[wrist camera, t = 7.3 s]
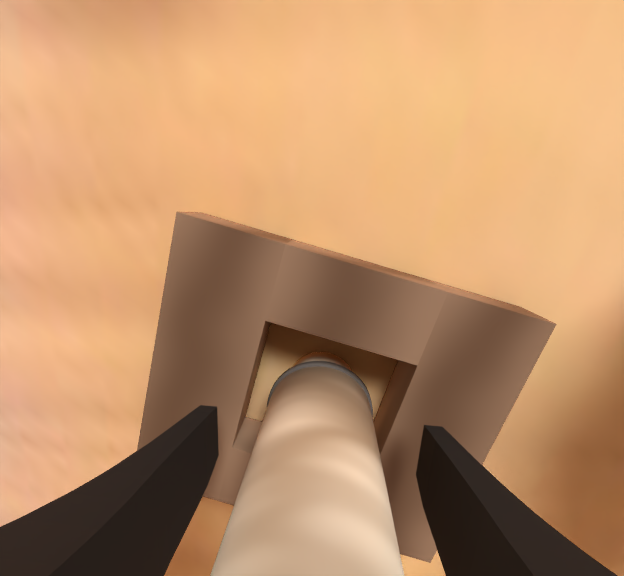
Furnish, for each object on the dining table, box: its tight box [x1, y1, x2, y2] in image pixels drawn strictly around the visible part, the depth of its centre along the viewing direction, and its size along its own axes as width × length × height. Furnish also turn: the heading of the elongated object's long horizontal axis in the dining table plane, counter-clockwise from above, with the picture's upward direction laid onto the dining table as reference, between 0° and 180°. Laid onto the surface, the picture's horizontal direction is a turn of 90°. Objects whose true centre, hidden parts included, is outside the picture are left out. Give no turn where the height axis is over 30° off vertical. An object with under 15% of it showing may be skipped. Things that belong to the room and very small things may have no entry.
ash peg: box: [210, 352, 404, 576], centre depth 9 cm, size 4×4×9 cm
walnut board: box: [137, 212, 556, 563], centre depth 13 cm, size 14×12×2 cm
